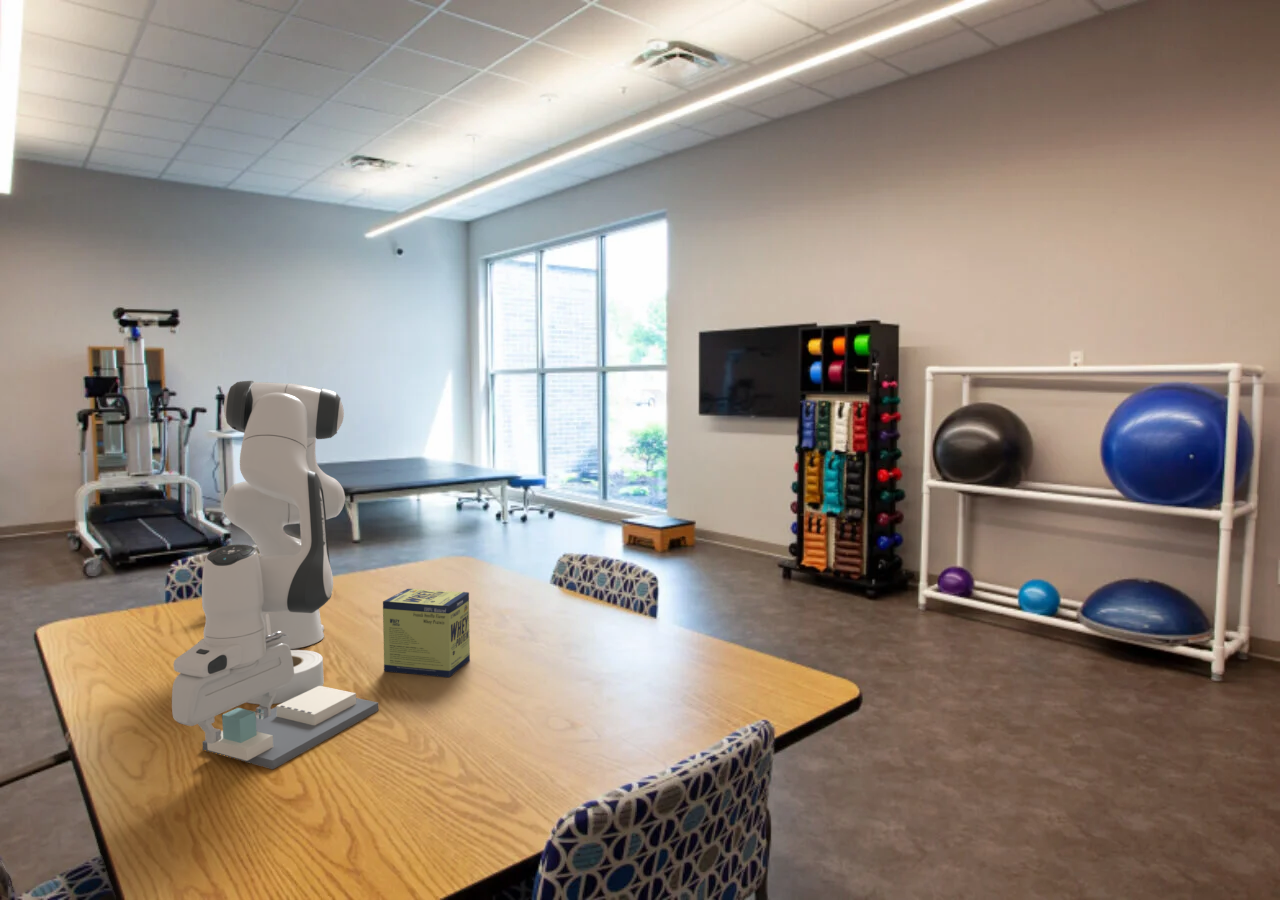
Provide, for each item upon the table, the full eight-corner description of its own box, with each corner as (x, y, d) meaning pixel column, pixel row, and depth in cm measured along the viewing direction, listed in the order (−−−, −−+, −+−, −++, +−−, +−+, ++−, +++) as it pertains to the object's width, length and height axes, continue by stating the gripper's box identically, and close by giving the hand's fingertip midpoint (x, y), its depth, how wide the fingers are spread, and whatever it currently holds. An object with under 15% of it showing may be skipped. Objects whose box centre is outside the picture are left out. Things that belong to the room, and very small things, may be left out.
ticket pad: (276, 716, 139) (276, 705, 138) (319, 695, 148) (319, 685, 148) (314, 725, 135) (314, 713, 135) (356, 703, 144) (355, 692, 144)
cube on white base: (207, 749, 126) (205, 714, 126) (234, 736, 131) (232, 702, 130) (247, 760, 123) (245, 724, 122) (273, 747, 127) (271, 712, 127)
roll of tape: (240, 681, 159) (239, 654, 159) (323, 670, 165) (322, 644, 165) (233, 711, 145) (232, 682, 144) (324, 697, 151) (323, 670, 151)
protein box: (450, 678, 161) (449, 605, 159) (382, 672, 164) (380, 600, 162) (471, 660, 171) (470, 591, 170) (407, 655, 174) (405, 587, 173)
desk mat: (202, 750, 129) (202, 741, 129) (314, 696, 151) (314, 688, 151) (272, 769, 123) (272, 760, 123) (378, 710, 145) (378, 702, 145)
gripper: (274, 625, 136) (277, 701, 137) (162, 665, 117) (167, 752, 118) (301, 630, 133) (304, 707, 135) (191, 671, 115) (196, 760, 116)
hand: (239, 728), depth 126 cm, fingers open, 8 cm apart
